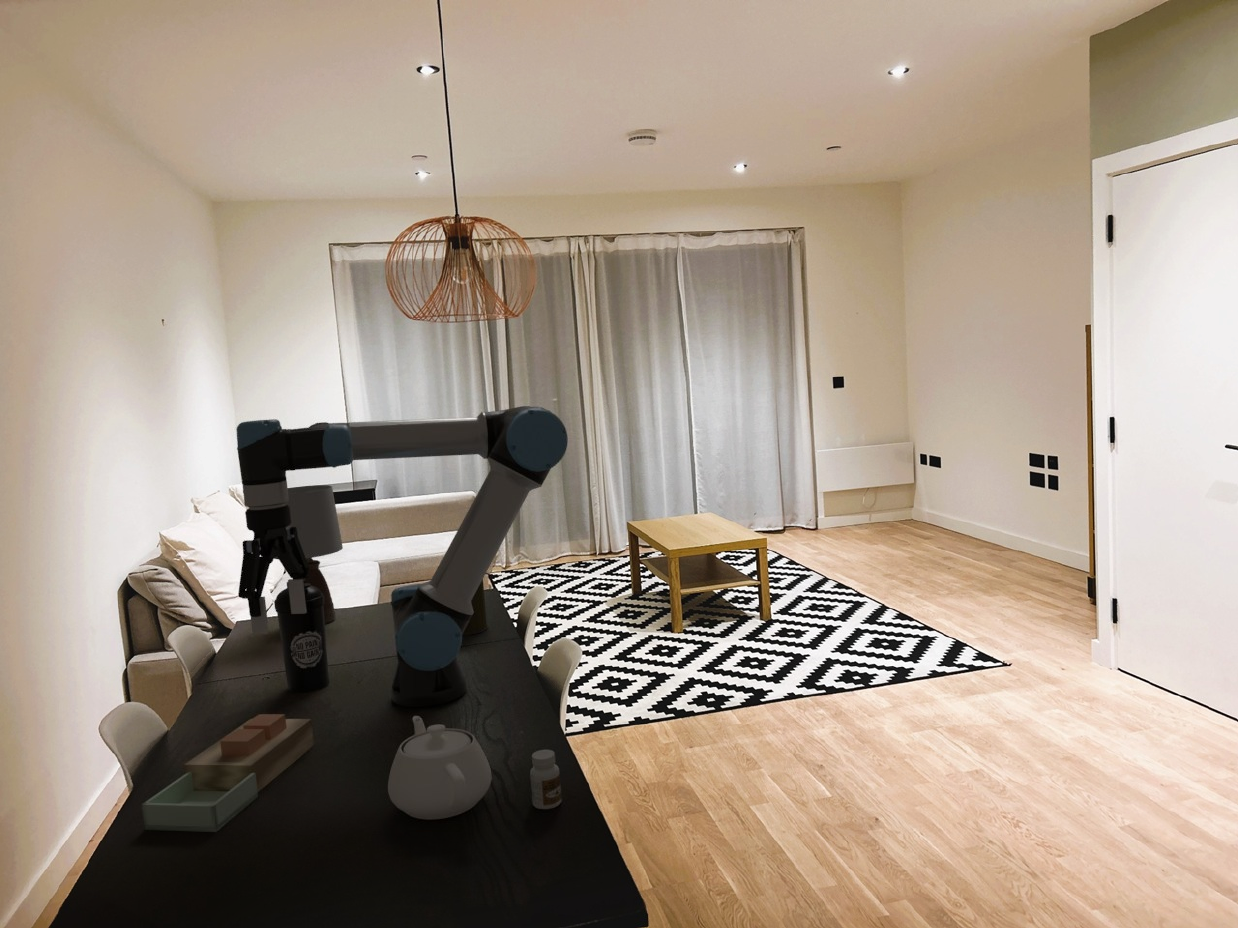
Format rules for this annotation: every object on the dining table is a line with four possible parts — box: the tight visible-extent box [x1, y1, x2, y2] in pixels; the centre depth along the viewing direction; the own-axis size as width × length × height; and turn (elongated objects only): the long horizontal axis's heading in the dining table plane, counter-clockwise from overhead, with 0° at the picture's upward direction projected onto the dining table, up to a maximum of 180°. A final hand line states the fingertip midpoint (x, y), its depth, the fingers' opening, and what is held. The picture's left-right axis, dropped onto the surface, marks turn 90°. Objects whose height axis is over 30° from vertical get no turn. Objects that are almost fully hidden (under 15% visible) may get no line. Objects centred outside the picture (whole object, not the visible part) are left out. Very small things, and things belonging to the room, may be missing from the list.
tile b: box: [220, 728, 266, 756], centre depth 153 cm, size 5×5×2 cm
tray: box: [141, 772, 259, 833], centre depth 142 cm, size 12×11×4 cm
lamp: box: [273, 484, 344, 625], centre depth 251 cm, size 19×19×37 cm
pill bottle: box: [529, 749, 562, 810], centre depth 137 cm, size 4×4×8 cm
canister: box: [462, 578, 489, 637], centre depth 233 cm, size 11×10×20 cm
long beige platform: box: [183, 718, 315, 793], centre depth 157 cm, size 12×19×5 cm, turn 170°
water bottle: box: [273, 579, 330, 694], centre depth 198 cm, size 10×10×23 cm
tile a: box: [242, 713, 287, 740], centre depth 160 cm, size 5×5×2 cm
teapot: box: [387, 715, 492, 821], centre depth 140 cm, size 25×16×12 cm, turn 27°
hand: (280, 623), depth 166 cm, fingers open, 12 cm apart
